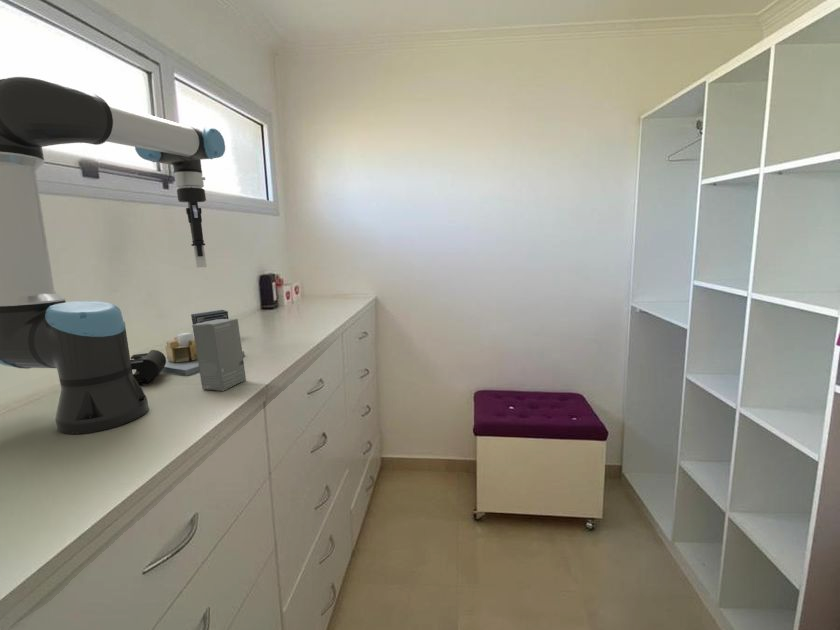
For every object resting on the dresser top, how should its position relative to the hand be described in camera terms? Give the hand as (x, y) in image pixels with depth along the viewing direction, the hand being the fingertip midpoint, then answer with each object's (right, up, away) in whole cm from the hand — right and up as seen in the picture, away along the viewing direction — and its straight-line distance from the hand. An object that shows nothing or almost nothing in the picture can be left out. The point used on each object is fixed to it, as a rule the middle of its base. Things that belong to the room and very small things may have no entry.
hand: (201, 267), depth 136 cm
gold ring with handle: (+4, -27, -9) cm, 28 cm away
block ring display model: (+3, -28, -9) cm, 30 cm away
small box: (-4, -24, +16) cm, 29 cm away
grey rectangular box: (+20, -32, -30) cm, 48 cm away
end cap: (-2, -32, -23) cm, 39 cm away
